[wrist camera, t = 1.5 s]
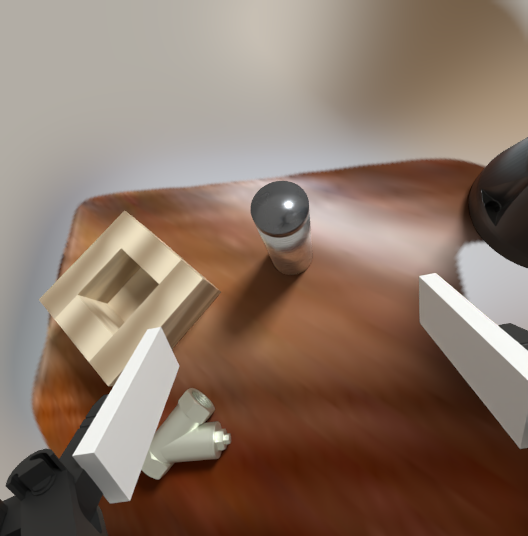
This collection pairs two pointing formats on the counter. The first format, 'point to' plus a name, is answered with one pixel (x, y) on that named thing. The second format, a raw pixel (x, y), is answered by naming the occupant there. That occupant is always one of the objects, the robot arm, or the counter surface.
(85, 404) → the counter surface
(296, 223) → the capped cylinder
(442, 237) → the counter surface
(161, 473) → the pipe fitting
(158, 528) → the counter surface
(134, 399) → the robot arm
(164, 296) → the socket block
